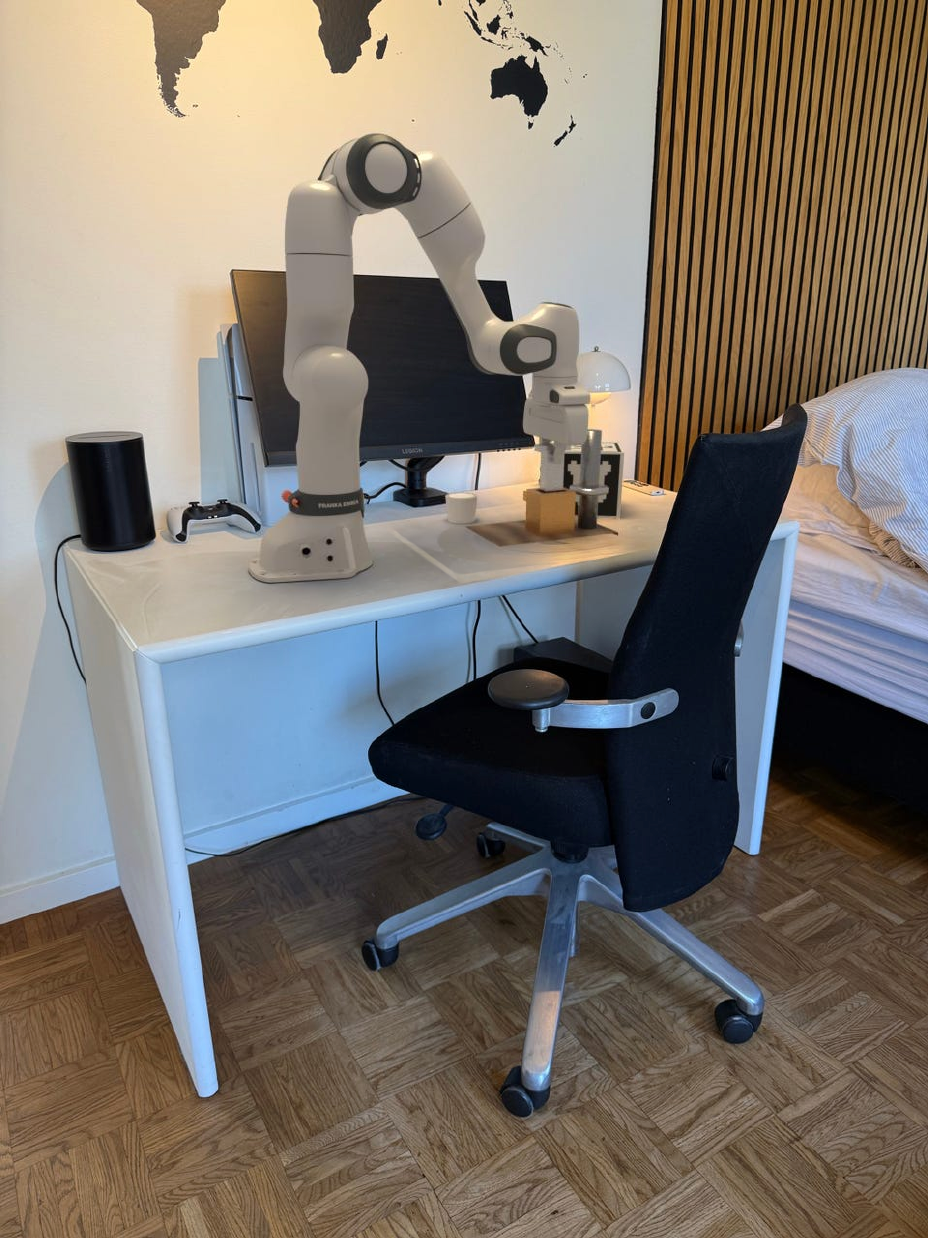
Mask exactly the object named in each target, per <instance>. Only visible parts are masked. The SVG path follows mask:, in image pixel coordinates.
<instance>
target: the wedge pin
mask: <svg viewBox="0 0 928 1238" xmlns="http://www.w3.org/2000/svg"><path fill="white" fill-rule="evenodd" d="M533 446H534V447H533V448H534V451H535V452H539V453H540V470H539V471H540V472H539V473H540V474H539V477H540V478H539V488H540V490H543V491H545V492H547V491H558V490H563V475H564V454H563V459H562V464H553V463H552V462H551V455H553V454H554V450H555V447H554V442H551V443H546V444H539V443H535V444H534V445H533ZM565 450H571V446H569V445H567V446H566V449H565Z"/></svg>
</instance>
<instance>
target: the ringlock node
mask: <svg viewBox="0 0 928 1238" xmlns="http://www.w3.org/2000/svg"><path fill="white" fill-rule="evenodd" d="M602 435H603V430H602V429H598V428H597V429H594V428H588V432H587V439H586V441H585V443H584V444H583V445H581V465H580V483H579V484H573V485H570V489H567V488H564V487H563V490H558V491H547V492H545V491H543V490H540V487H537V488H535V487H534V488H526V490H523V491H522V501H523V502H525V520H526V525H525V530H527V531H529V532H531V533H533V534H535V535H537V536H539V537H542V536H551V535H559V534H568V533H574V521H575V499H576V494H577V495H579V507H578V528H581V529H595V528H597V524H598V518H597V513H598V495H605V494H608V491H609V487H608V486H606V485H602V484H599V477H600V459H601V442H603V440H602V437H603V436H602Z"/></svg>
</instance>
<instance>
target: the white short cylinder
mask: <svg viewBox="0 0 928 1238" xmlns="http://www.w3.org/2000/svg"><path fill="white" fill-rule="evenodd" d="M477 502H478V495H477V494H475V493H470V492H453V493H448V494H446V495H445V505H446V506H445V507H446V514H447V515H446V516H447V522H449V523H452V524H457V525H459V524H464V525H465V524H472V523H475V521H476V515H477V511H476V510H477V504H478V503H477Z"/></svg>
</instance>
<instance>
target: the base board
mask: <svg viewBox="0 0 928 1238" xmlns="http://www.w3.org/2000/svg"><path fill="white" fill-rule="evenodd" d="M525 525H526V519H524V520H517V521H516V520H515V521H506V522H505V521H504V522H496V523H487V524H485V523H484V524H478V525H477V524H476V525H467V526H465V528H467V529H468V530H470V531H472V532H474V533H475V534H477V535H478V536H481V537H482V538H484V539H486V540H488V541H489V542H491V543H492V544H494V545H496V546H498V547H507V546H508V547H509V546H514V545H515V546H516V545H523V544H532V543H540V542H541V543H542V542H549V541H558V540H565V539H566V540H567V539H575V538H584V537H585V538H586V537H593V536H602V535H610V534H611V535H612V534H613V535H615V536H617V537H618V536H619V532H618V531H616V530H614V529H611V528H609V527H607V526H604V525H602V524H599V523H597V528H595V529H581V528H578V515H575V521H574V533H568V534H559V535H551V536H542V537H539V536H537V535H535V534H533V533H531V532H529V531H527V530H525Z"/></svg>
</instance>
